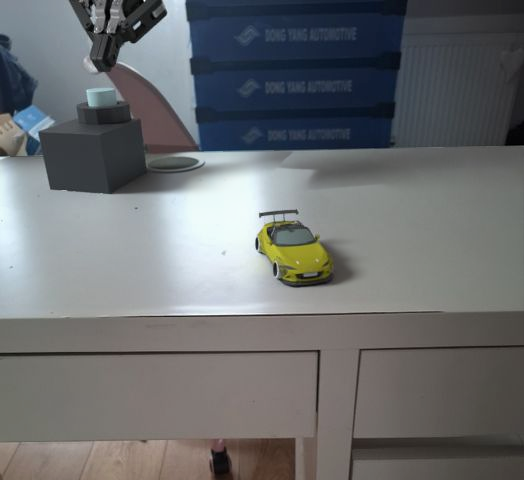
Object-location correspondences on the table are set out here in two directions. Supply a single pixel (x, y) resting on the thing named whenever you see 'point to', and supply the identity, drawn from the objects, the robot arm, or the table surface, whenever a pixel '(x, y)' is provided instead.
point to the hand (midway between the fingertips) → (100, 67)
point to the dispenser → (94, 150)
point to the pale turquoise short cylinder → (101, 97)
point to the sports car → (294, 251)
